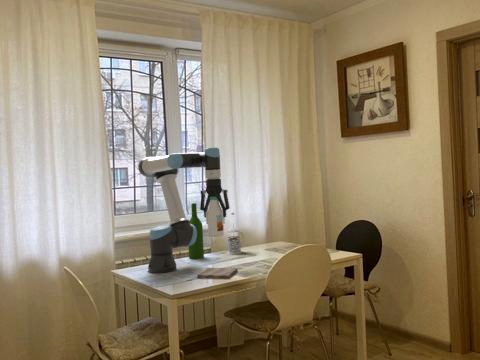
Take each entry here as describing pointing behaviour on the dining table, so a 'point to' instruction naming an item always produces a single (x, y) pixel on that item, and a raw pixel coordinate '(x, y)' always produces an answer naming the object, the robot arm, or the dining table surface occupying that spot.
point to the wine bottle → (197, 248)
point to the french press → (230, 247)
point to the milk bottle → (215, 219)
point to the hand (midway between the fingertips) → (215, 223)
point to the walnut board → (217, 273)
